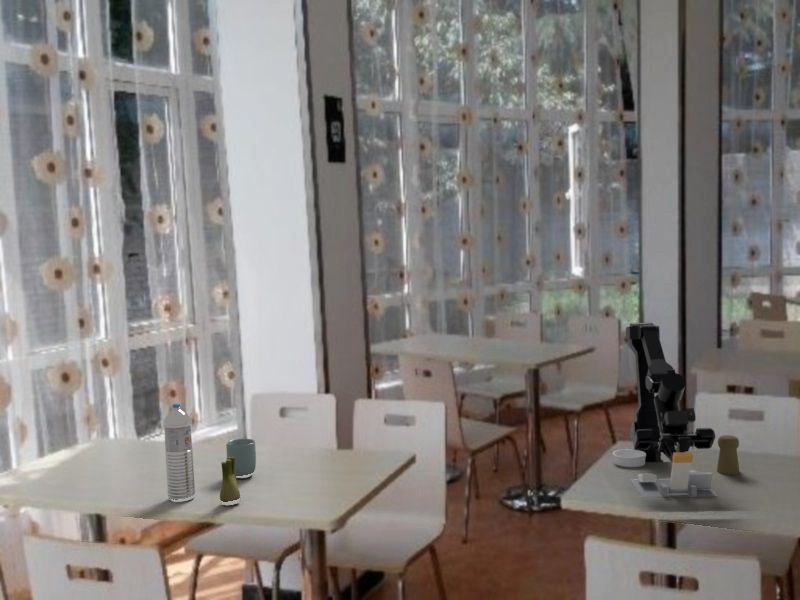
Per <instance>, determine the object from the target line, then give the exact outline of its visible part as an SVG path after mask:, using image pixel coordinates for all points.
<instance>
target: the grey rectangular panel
mask: <svg viewBox="0 0 800 600" xmlns="http://www.w3.org/2000/svg"><path fill="white" fill-rule="evenodd" d="M712 480H713V472H712V471H698V472H690V475H689V482H688V483H694V484H695V485H696V487H697V489H712Z"/></svg>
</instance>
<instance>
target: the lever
mask: <svg viewBox="0 0 800 600" xmlns="http://www.w3.org/2000/svg"><path fill="white" fill-rule="evenodd" d="M693 458H694V455H693V452H691V451H687V452H673V463H672V462H671V472H670V477H669V478H670V485H669V486H668V493H669V494H672V493H688V482H689V475H690V470H691V467H692V463H693Z"/></svg>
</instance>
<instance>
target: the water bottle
mask: <svg viewBox="0 0 800 600" xmlns="http://www.w3.org/2000/svg"><path fill="white" fill-rule="evenodd" d="M191 426H192V419H191V417H190V415H189V414H188V413H187V412H186V411H184V410H182V409H181V403H177V402H176V403H172V410H171V411H169V413H167V414H166V416H165V417H164V419H163V427H164V441H165V442H164V444H165V445H164V446H165V451H164V453H165V468H166V469H165V471H166V481H167V482H166V484H167V496H168V497H167V498H169V499H173V500H174V499H175V500H178V499H185V498H188V497H191V496H193V495H194V494H195V495H196V490H195V485H196V484H195V473H194V472H195V469H194V468H195V467H194V453H193V452H194V449H193V442H192V427H191ZM169 499H168V500H169Z"/></svg>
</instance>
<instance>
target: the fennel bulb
mask: <svg viewBox="0 0 800 600" xmlns="http://www.w3.org/2000/svg"><path fill="white" fill-rule="evenodd" d="M221 472H222V484H221V488H220V491H219V493H220V494H219V499H220V500H221V501H223V502H228V501H233V500H237V499H239V498H240V499H241V492H240V490H239V485H238V481H237V480H238V479H236V476H235V457H227V456H226V460H225V461H221ZM221 501H220V502H221Z"/></svg>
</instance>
